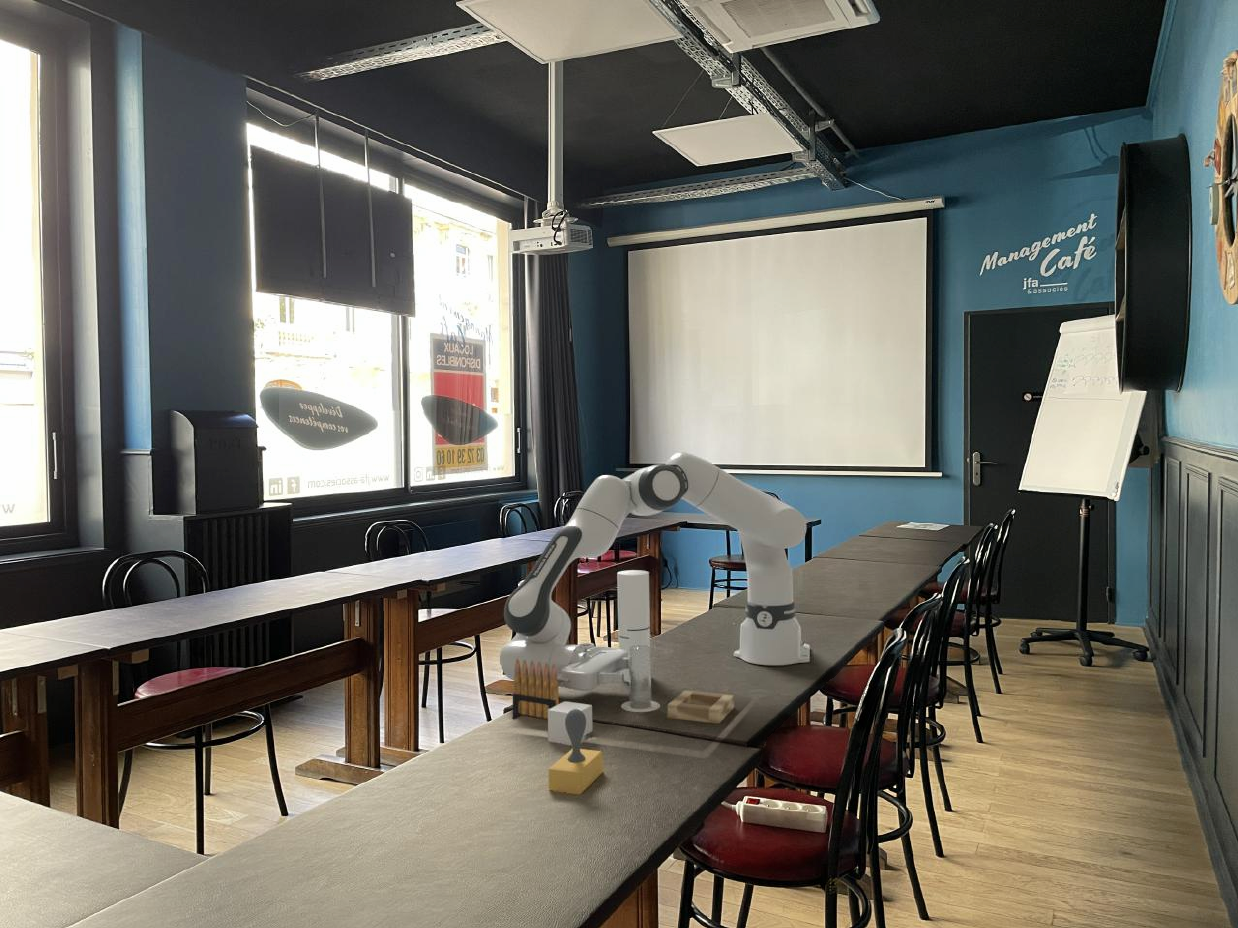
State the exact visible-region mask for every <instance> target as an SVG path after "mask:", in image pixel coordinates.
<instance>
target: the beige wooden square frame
mask: <svg viewBox="0 0 1238 928" xmlns="http://www.w3.org/2000/svg"><path fill="white" fill-rule="evenodd" d="M666 706H667V707H666V708H667V709H666V710H667V718H668V719H675V720H685V721H691V722H692V721H693V722H701V723H702V722H703V723H710V724H711V723H712V724H721V722H722V721H723V720H724V719H725V718H726V717H727V716H728V715H729V714H730V713H731V712H732V711H733V710H734V708H735V695H734V694H727V693H726V694H723V693H716V692H715V693H714V692H706V691H705V692H704V691H694V690H692V691H691V690H684V691H682V692H681V693H680V694H679V695H677V696H676V697H674V699H673V700H671V701H670V702H669V703H668V704H666Z"/></svg>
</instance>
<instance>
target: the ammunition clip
mask: <svg viewBox="0 0 1238 928" xmlns="http://www.w3.org/2000/svg"><path fill="white" fill-rule="evenodd" d="M559 694H560V693H559V687H558V682H557V671H556V667H555V664H553V665H552V669H551V683H550V673H549V667H548V664H547V663H546V664H545V667H544V677H543V676H542V667H541V664H540V662H538V665H537V671H536V676H535V667H534V663H533V661H531V663H530V668H529V678H528V668H527V663H526V660H524V661H523V665H522V678H521V668H520V663H519V660H518V659H517V660H516V663H515V677H514V680H513V693H512V719H513V720H516V719H518V718H520V717H522V716H525V717H530V718H535V719H542V720H545V721H546V720H547V721H548V710H549V709H551V708H553V707H555V706H556V705H558V704H560V703H561V698H560V696H559Z"/></svg>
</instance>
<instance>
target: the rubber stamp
mask: <svg viewBox="0 0 1238 928" xmlns="http://www.w3.org/2000/svg"><path fill="white" fill-rule="evenodd" d="M565 727H566V730H567V733H568V736H569V738H570V740H571V743H572V745H571V749H570V750H569V751H568V752H567V753H566V754H564V755H563V756H562V757H561V758H560V759H558V760H557V761H556V762H555V763H554V764H553V765H551V766H550V767H549V768H548V772H547V773H548V790H549V791H550V790H553V791H552V792H556V791H559V792H558V793H564V792H566V793H565V794H571V793H572V795H578V796H579V795H581V794H583V792H584V791H585V790H587V788H588V787H589V786H590V785H592V783H593V782H595V781H596V779H598V778H599V776H601V775H602V773H604V753H603V751H601V750H593V749H583V748H581V744H582V743H581V740H582V737H583V734H584V731H585V728H586V717H585V715H584V713H583V712H582V711H580V710H578V709H573V710H571V711H569V712H568V714H567V716H566V719H565Z"/></svg>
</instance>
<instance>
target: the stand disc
mask: <svg viewBox="0 0 1238 928" xmlns="http://www.w3.org/2000/svg"><path fill="white" fill-rule="evenodd" d="M620 708H621V709H622V710H625V711H626V712H633V713H646V712H647V713H648V712H649V713H650V712H653V711H656V710H659V708H661V704H660V703H659V702H657V701H653V700H651V707H650V708H646V709H634V708H631V707H630V700H629V701H625V702H624V703H622V704H621V705H620Z"/></svg>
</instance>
